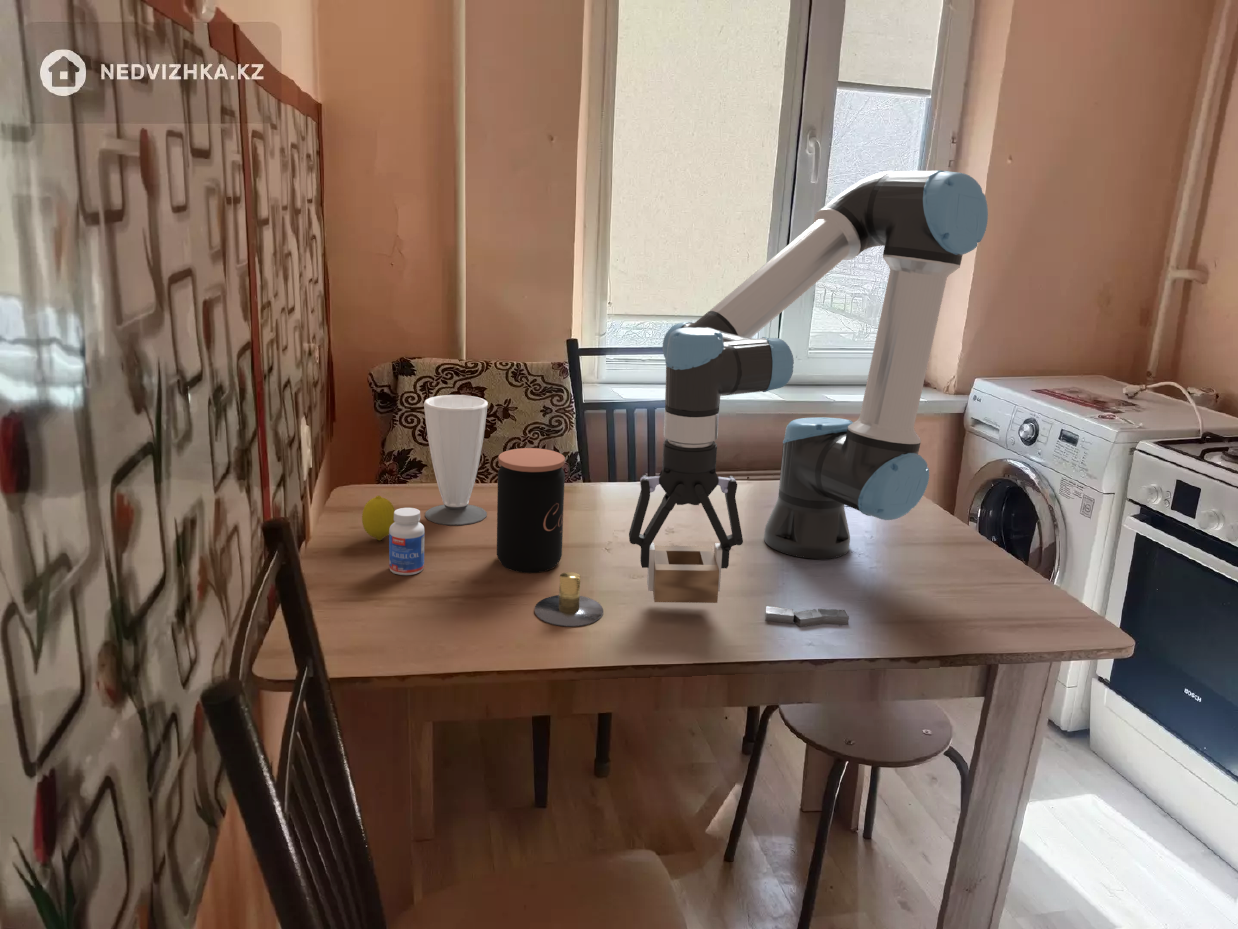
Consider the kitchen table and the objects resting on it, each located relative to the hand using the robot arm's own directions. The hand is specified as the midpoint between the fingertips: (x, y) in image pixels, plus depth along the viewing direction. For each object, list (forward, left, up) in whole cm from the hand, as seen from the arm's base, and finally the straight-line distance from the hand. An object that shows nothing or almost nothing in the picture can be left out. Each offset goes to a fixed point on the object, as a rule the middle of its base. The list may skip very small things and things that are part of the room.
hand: (683, 587), depth 135 cm
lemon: (+50, -24, -4) cm, 55 cm away
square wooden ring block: (0, 0, 0) cm, 0 cm away
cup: (+39, -38, -4) cm, 54 cm away
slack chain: (-18, +1, -4) cm, 19 cm away
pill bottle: (+43, -12, -4) cm, 44 cm away
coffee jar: (+24, -17, -4) cm, 29 cm away
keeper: (+17, +1, -4) cm, 17 cm away
